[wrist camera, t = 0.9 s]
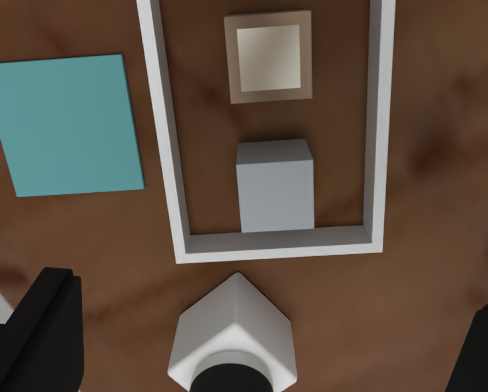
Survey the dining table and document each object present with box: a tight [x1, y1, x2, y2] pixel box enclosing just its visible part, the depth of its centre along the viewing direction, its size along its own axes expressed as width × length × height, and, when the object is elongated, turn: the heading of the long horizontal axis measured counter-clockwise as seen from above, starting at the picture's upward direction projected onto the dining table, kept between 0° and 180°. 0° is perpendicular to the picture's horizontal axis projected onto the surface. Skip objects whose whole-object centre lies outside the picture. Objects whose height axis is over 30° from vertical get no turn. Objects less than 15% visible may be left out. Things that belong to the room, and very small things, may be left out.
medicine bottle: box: [168, 272, 297, 392], centre depth 35 cm, size 7×7×12 cm
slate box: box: [236, 139, 314, 233], centre depth 33 cm, size 5×5×5 cm
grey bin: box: [137, 0, 395, 264], centre depth 32 cm, size 16×21×3 cm
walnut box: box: [224, 9, 312, 104], centre depth 30 cm, size 5×5×5 cm
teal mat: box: [0, 54, 145, 197], centre depth 34 cm, size 10×10×1 cm
